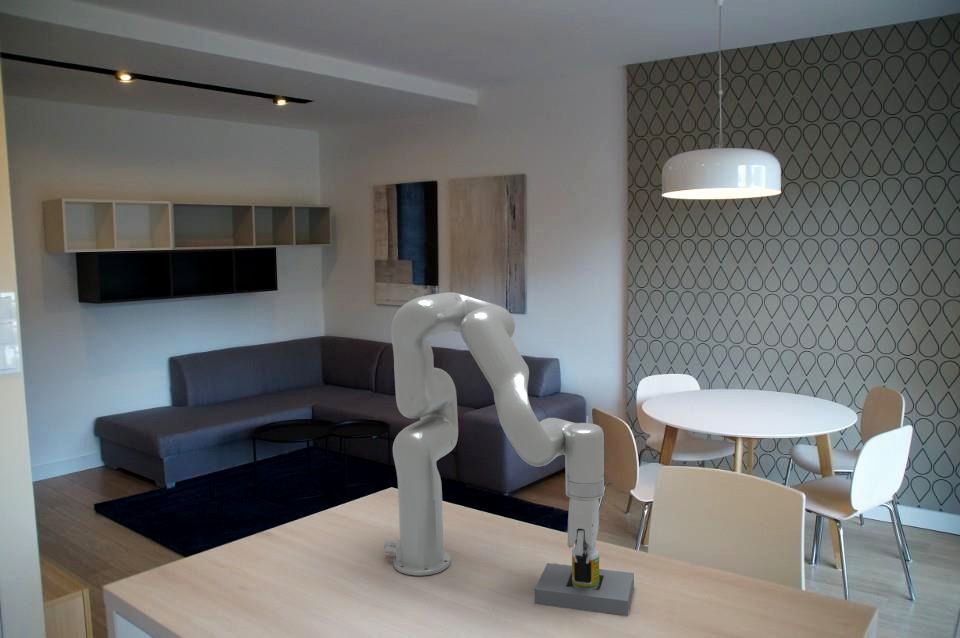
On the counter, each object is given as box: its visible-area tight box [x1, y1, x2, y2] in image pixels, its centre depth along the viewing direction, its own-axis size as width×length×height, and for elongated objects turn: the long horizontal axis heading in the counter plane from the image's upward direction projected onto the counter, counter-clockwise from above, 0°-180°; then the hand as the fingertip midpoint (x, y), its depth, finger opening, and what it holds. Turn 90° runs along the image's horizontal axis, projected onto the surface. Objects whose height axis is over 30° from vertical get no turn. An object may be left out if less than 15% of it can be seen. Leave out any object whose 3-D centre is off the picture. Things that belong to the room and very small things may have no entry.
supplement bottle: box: [571, 541, 600, 590], centre depth 148 cm, size 5×5×10 cm
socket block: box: [534, 562, 635, 617], centre depth 149 cm, size 18×12×3 cm, turn 73°
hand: (585, 573), depth 149 cm, fingers closed on supplement bottle, 5 cm apart
